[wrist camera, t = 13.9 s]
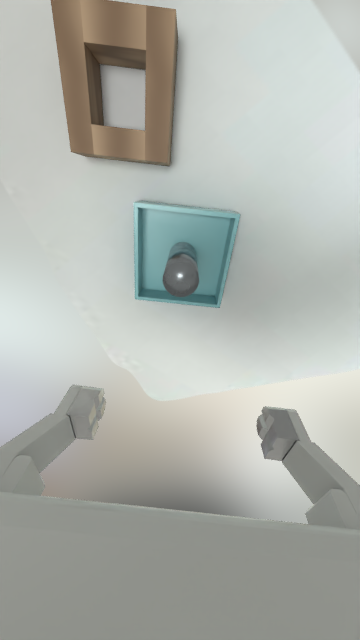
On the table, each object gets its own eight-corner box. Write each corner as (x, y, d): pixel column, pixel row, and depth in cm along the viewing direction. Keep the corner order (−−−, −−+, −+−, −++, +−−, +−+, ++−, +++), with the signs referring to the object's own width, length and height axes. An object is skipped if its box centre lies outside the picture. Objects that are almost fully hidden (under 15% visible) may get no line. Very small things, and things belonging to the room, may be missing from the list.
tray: (234, 211, 30) (240, 214, 26) (216, 296, 36) (219, 307, 33) (140, 200, 29) (133, 202, 26) (140, 288, 36) (134, 299, 33)
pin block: (177, 37, 22) (175, 9, 18) (170, 166, 27) (167, 163, 24) (71, 23, 21) (49, -8, 18) (85, 156, 27) (71, 151, 24)
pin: (197, 243, 31) (201, 264, 22) (194, 270, 33) (196, 298, 25) (170, 240, 31) (163, 260, 22) (168, 267, 33) (161, 295, 24)
